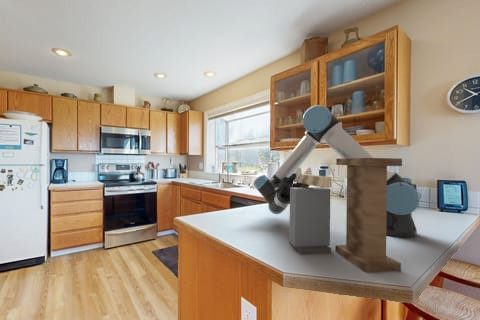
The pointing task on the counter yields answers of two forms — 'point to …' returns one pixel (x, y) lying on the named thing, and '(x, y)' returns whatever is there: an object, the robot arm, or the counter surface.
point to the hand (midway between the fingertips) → (305, 171)
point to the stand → (367, 214)
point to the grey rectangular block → (310, 220)
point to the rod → (316, 180)
